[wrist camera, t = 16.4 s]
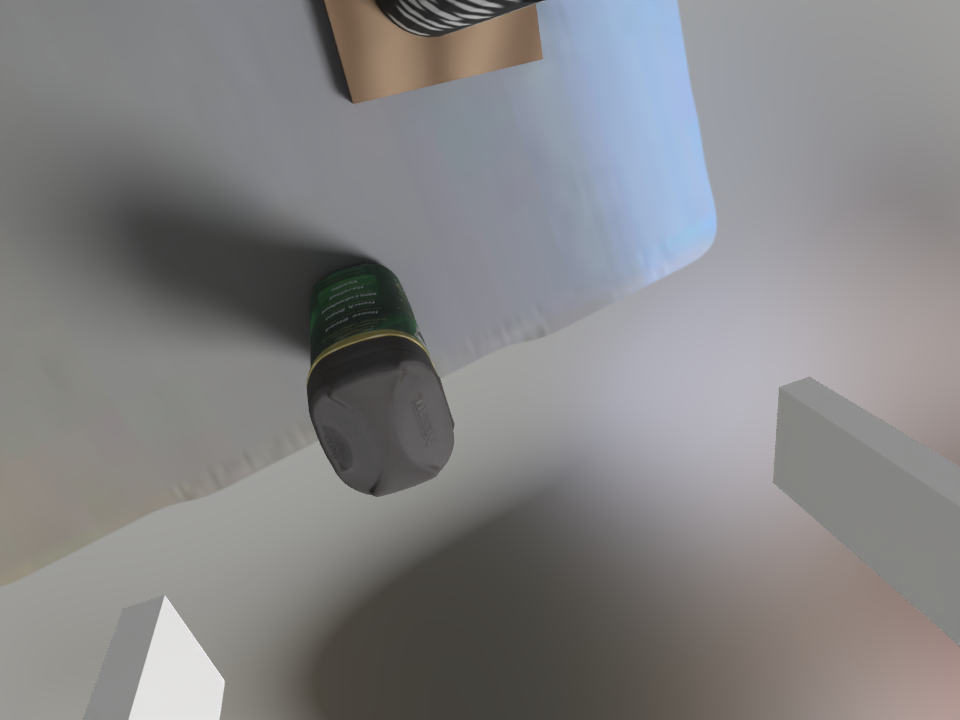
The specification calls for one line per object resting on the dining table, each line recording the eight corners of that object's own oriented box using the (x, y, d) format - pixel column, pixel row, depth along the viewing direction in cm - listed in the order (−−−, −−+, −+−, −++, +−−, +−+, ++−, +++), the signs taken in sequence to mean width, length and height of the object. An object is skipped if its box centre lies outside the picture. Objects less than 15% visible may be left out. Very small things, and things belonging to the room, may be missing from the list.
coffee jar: (295, 280, 45) (283, 391, 29) (391, 250, 46) (432, 342, 30) (338, 381, 50) (349, 526, 34) (424, 352, 51) (475, 479, 34)
